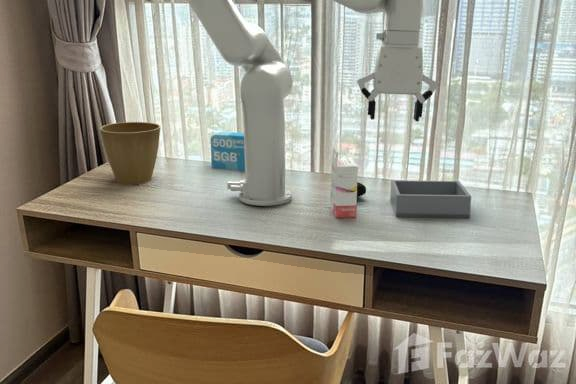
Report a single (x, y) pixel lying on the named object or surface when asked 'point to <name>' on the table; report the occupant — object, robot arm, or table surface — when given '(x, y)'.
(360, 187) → the tape measure
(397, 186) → the tote
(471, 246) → the table surface
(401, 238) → the table surface
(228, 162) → the data package
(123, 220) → the table surface
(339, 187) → the ink cartridge box
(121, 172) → the plant pot
